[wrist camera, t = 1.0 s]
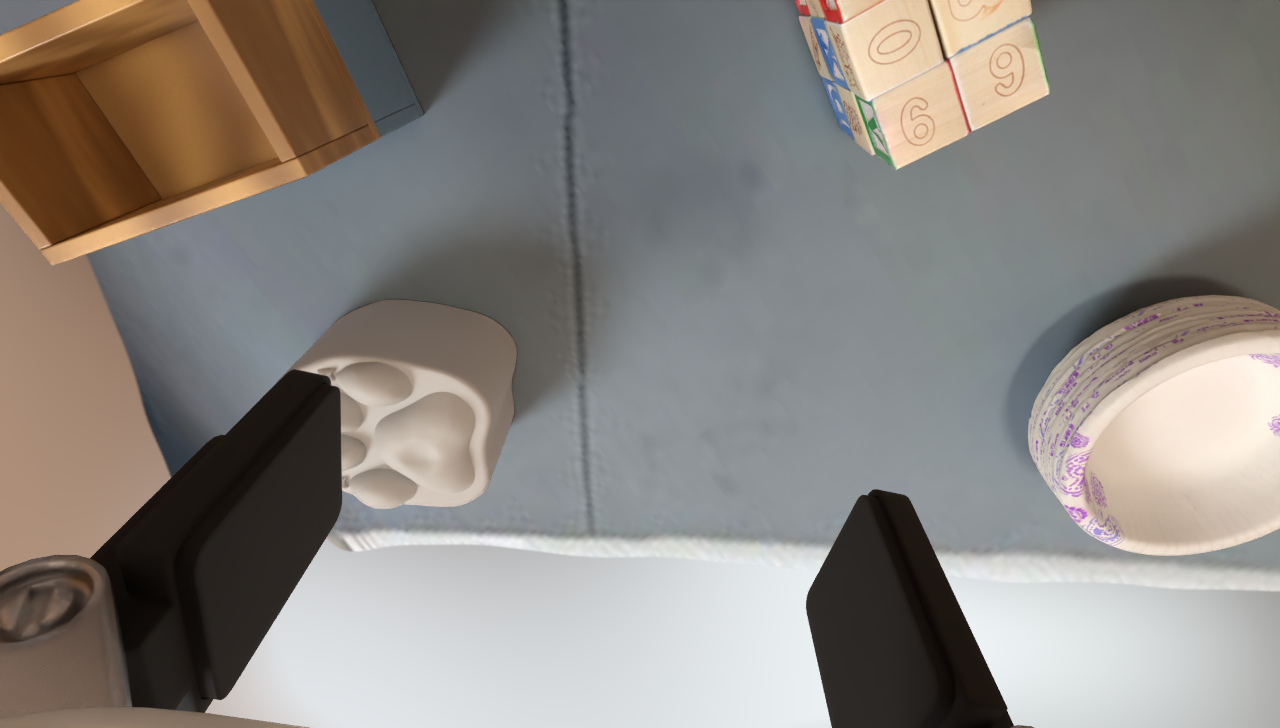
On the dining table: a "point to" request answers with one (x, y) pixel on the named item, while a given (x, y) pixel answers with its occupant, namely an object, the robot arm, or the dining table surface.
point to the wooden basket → (165, 113)
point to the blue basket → (371, 62)
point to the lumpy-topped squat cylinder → (418, 400)
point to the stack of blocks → (922, 68)
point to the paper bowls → (1168, 427)
